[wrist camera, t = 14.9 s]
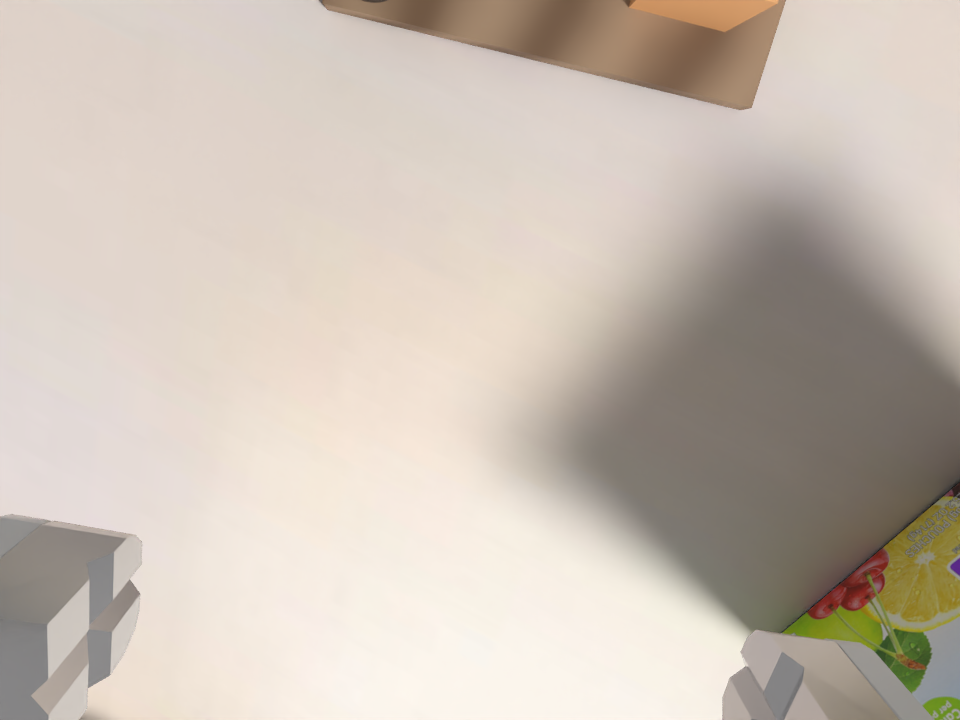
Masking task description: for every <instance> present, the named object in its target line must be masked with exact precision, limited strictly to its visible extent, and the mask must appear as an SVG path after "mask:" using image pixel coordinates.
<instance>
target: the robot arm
mask: <svg viewBox="0 0 960 720" xmlns="http://www.w3.org/2000/svg"><path fill="white" fill-rule="evenodd" d="M141 564H142V541H141V540H140V539H139V538H138V537H137V536H136V535H133V534H127V533H122V532H116V531H110V530H104V529H99V528H93V527H87V526H81V525H76V524H70V523H64V522H58V521H49V520H45V519H38V518H32V517H26V516H20V515H14V514H10V515H5V516H0V720H79V719H80V718H81V717H82V715H83V714H84V712H85V711H86V709H87V702H88V688H89V687H91V686H92V685H94V684H96V683H98V682H99V681H101V680H103V679H105V678H106V677H108V676H110V675H111V673H112V672H113V670H114V669H115V667H116V666H117V664H118V663H119V661H120V660H121V658H122V657H123V655H124V653H125V651H126V649H127V647H128V644H129V642H130V640H131V637H132V635H133V633H134V631H135V627H136V623H137V618H138V614H139V607H140V593H139V591H138V590H137V589H136V587H135V586H134V584H133V583H132V582H131V580H130V578H131V577H132V576H133V574H134V573H135V572H136V571H137V569H138V568H139V567H140V566H141ZM741 655H742V658H743V660H744V663H745V667H744V668H743V669H741V670H740V671H739V672H737V673H736V674H734V675H733V676H732V677H730V679H729V681H728V684H727V687H726V690H725V692H724V695H723V715H722V720H934V719H933V717H932V716H931V715H930V714H929V713H928V712H927V711H926V709H925V708H924V707H923V706H922V705H921V704H920V703H919V702H918V700H917V699H916V698H915V697H914V696H913V695H912V694H911V692H910V691H909V690H908V689H907V688H906V687H905V686H904V685H903V683H902V682H901V681H900V680H899V679H898V678H897V677H896V675H895V674H894V673H893V672H892V671H891V670H890V669H889V668H888V666H887V665H886V664H885V663H884V662H883V661H882V660H881V658H880V657H879V656H878V655H877V654H876V653H875V652H874V651H873V650H872V649H870V648H868V647H867V646H865V645H863V644H862V643H858V642H850V641H842V640H834V639H817V638H811V637H804V636H797V635H790V634H783V633H776V632H769V631H763V630H755V631H754V632H753V633H752V634H750V635H749V636H748V637H747V639H746V641H745V643H744V646H743V648H742V650H741Z"/></svg>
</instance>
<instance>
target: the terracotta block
mask: <svg viewBox="0 0 960 720" xmlns="http://www.w3.org/2000/svg"><path fill="white" fill-rule="evenodd" d="M776 4H778V0H630V4H629V8H633V9H637V10H641V11H644V12H648V13H652V14H656V15H660V16H664V17H668V18H672V19H676V20H680V21H684V22H687V23H691V24H695V25H699V26H703V27H707V28H711V29H715V30H719V31H723V32H726V31H728V30H730V29H732V28H733V27H735V26H737V25H739V24H741V23H743V22H745V21H746V20H748V19H750V18H752V17H754V16H756V15H757V14H759V13H761V12H763V11H765V10H767V9H769V8H770V7H772V6H774V5H776Z"/></svg>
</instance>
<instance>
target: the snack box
mask: <svg viewBox="0 0 960 720" xmlns="http://www.w3.org/2000/svg"><path fill="white" fill-rule="evenodd" d="M782 633H783V634H790V635H797V636H804V637H811V638H817V639H834V640H842V641H850V642H858V643H862V644H863V645H865V646H867V647H868V648H870V649H872V650H873V651H874V652H875V653H876V654H877V655H878V656H879V657H880V658H881V660H882V661H883V662H884V663H885V664H886V665H887V666H888V668H889V669H890V670H891V671H892V672H893V673H894V674H895V675H896V677H897V678H898V679H899V680H900V681H901V682H902V683H903V685H904V686H905V687H906V688H907V689H908V690H909V691H910V692H911V694H912V695H913V696H914V697H915V698H916V699H917V700H918V702H919V703H920V704H921V705H922V706H923V707H924V708H925V709H926V711H927V712H928V713H929V714H930V715H931V716H932V717H933V719H934V720H960V482H959V483H958V484H957V485H956V486H955V487H954V488H952V489H951V490H950V491H949V492H948V493H947V494H945V495H944V496H943V497H942V498H941V499H940V500H938V501H937V502H936V503H935V504H934V505H932V506H931V507H930V508H929V509H928V510H926V511H925V512H924V513H923V514H922V515H921V516H919V517H918V518H917V519H916V520H915V521H914V522H912V523H911V524H910V525H909V526H908V527H906V528H905V529H904V530H903V531H902V532H901V533H899V534H898V535H897V536H896V537H895V538H894V539H892V540H891V541H890V542H889V543H888V544H887V545H885V546H884V547H883V548H882V549H881V550H880V551H878V552H877V553H876V554H875V555H874V556H872V557H871V558H870V559H869V560H868V561H866V562H865V563H864V564H863V565H862V566H861V567H859V568H858V569H857V570H856V571H855V572H853V573H852V574H851V575H850V576H849V577H847V578H846V579H845V580H844V581H843V582H842V583H840V584H839V585H838V586H837V587H836V588H834V589H833V590H832V591H831V592H830V593H829V594H827V595H826V596H825V597H824V598H823V599H821V600H820V601H819V602H818V603H817V604H816V605H814V606H813V607H812V608H811V609H810V610H809V611H807V612H806V613H805V614H804V615H803V616H801V617H800V618H799V619H798V620H797V621H795V622H794V623H793V624H792V625H791V626H789V627H788V628H787V629H786V630H785V631H783V632H782Z"/></svg>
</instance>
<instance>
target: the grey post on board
mask: <svg viewBox="0 0 960 720" xmlns="http://www.w3.org/2000/svg"><path fill="white" fill-rule="evenodd" d="M785 1H786V0H778V4H776V5H774V6H772V7H770V8H769V9H767V10H765V11H763V12H761V13H759V14H757V15H756V16H754V17H752V18H750V19H748V20H746V21H745V22H743V23H741V24H739V25H737V26H735V27H733V28H732V29H730V30H728V31H726V32H723V31H719V30H715V29H711V28H707V27H703V26H699V25H695V24H691V23H687V22H684V21H680V20H676V19H672V18H668V17H664V16H660V15H656V14H652V13H648V12H644V11H641V10H637V9H633V8H629V4H630V0H323V1H322V3H323V5H324V6H325V7H326V9H327V10H330V11H334V12H338V13H343V14H347V15H351V16H355V17H359V18H363V19H367V20H371V21H376V22H380V23H384V24H388V25H392V26H396V27H400V28H404V29H408V30H413V31H417V32H421V33H425V34H429V35H433V36H437V37H441V38H446V39H450V40H454V41H458V42H462V43H466V44H470V45H474V46H478V47H483V48H487V49H491V50H495V51H499V52H503V53H507V54H511V55H516V56H520V57H524V58H528V59H532V60H536V61H540V62H544V63H548V64H553V65H557V66H561V67H565V68H569V69H573V70H577V71H581V72H586V73H590V74H594V75H598V76H602V77H606V78H610V79H614V80H618V81H623V82H627V83H631V84H635V85H639V86H643V87H647V88H651V89H656V90H660V91H664V92H668V93H672V94H676V95H680V96H684V97H688V98H693V99H697V100H701V101H705V102H709V103H713V104H717V105H721V106H726V107H730V108H734V109H738V110H744V109H748V108H752V105H753V101H754V98H755V95H756V92H757V89H758V86H759V83H760V80H761V76H762V73H763V70H764V67H765V64H766V61H767V58H768V55H769V51H770V48H771V45H772V42H773V39H774V36H775V33H776V30H777V26H778V23H779V20H780V17H781V14H782V11H783V8H784V5H785Z"/></svg>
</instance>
